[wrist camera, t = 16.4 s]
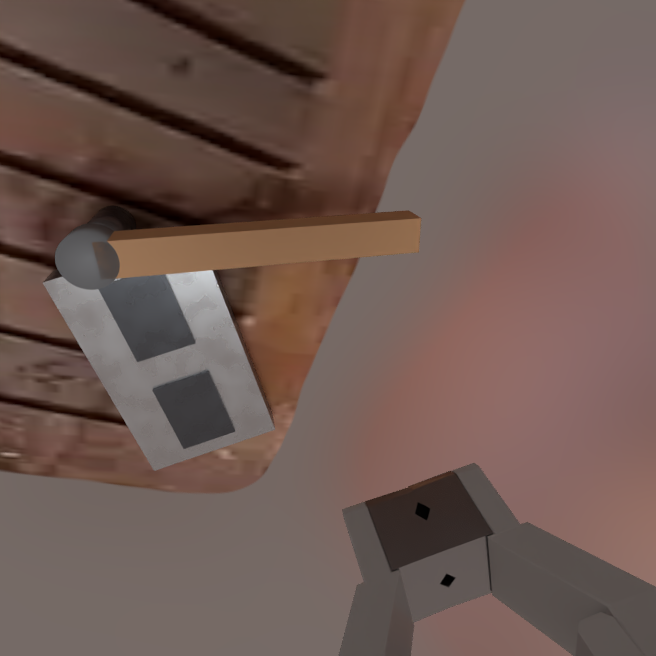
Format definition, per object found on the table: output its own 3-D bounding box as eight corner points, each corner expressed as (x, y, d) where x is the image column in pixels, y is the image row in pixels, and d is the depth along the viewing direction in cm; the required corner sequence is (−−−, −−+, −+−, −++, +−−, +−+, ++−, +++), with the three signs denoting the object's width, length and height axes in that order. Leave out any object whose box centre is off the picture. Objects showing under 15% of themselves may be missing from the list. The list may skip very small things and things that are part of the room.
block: (28, 229, 36) (-7, 255, 30) (182, 184, 37) (176, 200, 31) (156, 453, 47) (148, 502, 41) (272, 414, 48) (280, 457, 42)
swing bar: (74, 279, 31) (64, 292, 29) (59, 225, 30) (47, 235, 28) (406, 250, 36) (418, 260, 33) (409, 202, 34) (421, 209, 32)
